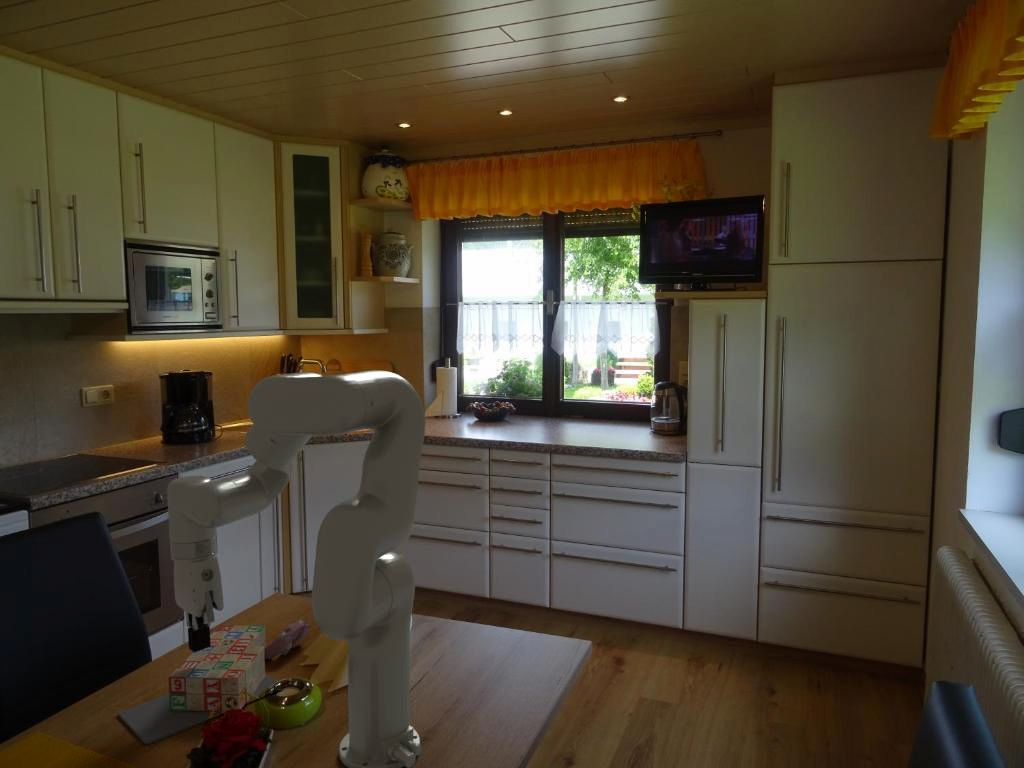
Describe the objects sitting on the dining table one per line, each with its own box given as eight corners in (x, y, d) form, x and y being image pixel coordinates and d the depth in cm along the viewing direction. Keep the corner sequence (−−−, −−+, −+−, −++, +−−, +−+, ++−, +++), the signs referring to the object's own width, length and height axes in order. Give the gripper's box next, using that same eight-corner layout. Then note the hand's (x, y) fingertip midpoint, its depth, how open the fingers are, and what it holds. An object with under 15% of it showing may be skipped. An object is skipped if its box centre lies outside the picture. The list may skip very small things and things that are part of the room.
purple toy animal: (276, 669, 144) (289, 641, 142) (258, 657, 144) (271, 628, 143) (304, 648, 153) (317, 621, 151) (287, 636, 154) (299, 609, 152)
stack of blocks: (219, 624, 145) (281, 625, 145) (220, 654, 146) (281, 655, 145) (167, 676, 124) (239, 678, 124) (169, 712, 124) (240, 713, 124)
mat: (283, 689, 133) (283, 686, 133) (146, 745, 116) (145, 742, 116) (250, 666, 142) (250, 663, 142) (118, 715, 124) (117, 712, 124)
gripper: (234, 551, 125) (240, 653, 126) (197, 534, 135) (202, 629, 136) (190, 562, 119) (196, 669, 121) (155, 543, 129) (161, 643, 131)
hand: (199, 648), depth 129 cm, fingers closed
